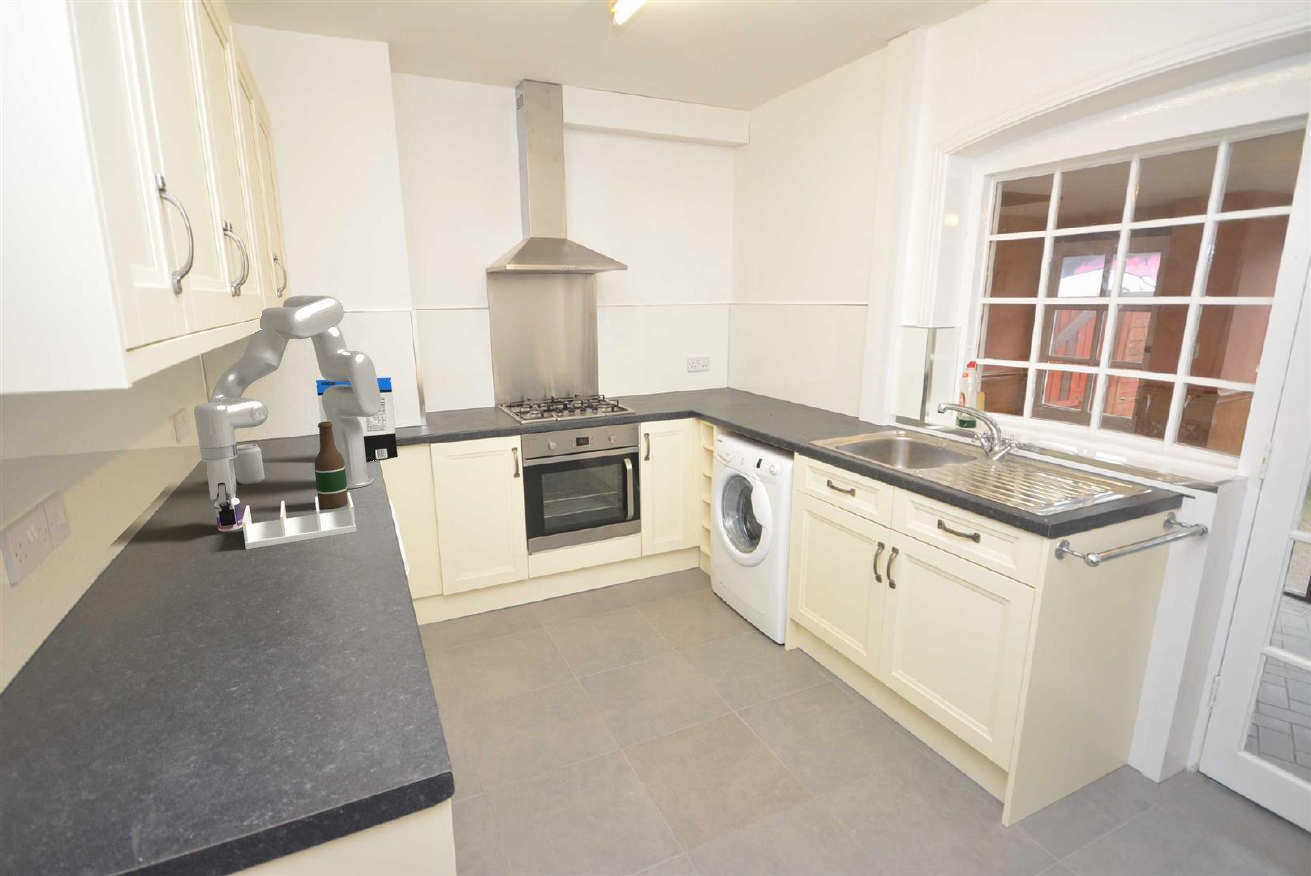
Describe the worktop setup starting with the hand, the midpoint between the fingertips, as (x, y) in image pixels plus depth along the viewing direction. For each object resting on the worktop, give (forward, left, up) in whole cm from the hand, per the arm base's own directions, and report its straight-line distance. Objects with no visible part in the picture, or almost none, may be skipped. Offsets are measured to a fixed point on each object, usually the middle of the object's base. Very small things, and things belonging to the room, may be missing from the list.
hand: (229, 520), depth 158 cm
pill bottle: (0, 0, -2) cm, 2 cm away
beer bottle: (-8, +24, -2) cm, 25 cm away
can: (-48, +2, -2) cm, 48 cm away
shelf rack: (+11, +16, -2) cm, 20 cm away
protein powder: (-62, +36, -2) cm, 71 cm away
